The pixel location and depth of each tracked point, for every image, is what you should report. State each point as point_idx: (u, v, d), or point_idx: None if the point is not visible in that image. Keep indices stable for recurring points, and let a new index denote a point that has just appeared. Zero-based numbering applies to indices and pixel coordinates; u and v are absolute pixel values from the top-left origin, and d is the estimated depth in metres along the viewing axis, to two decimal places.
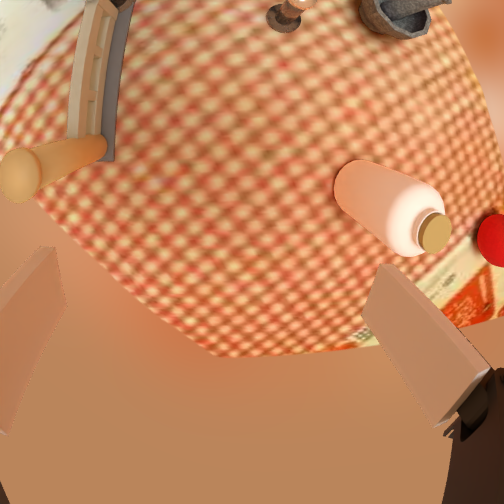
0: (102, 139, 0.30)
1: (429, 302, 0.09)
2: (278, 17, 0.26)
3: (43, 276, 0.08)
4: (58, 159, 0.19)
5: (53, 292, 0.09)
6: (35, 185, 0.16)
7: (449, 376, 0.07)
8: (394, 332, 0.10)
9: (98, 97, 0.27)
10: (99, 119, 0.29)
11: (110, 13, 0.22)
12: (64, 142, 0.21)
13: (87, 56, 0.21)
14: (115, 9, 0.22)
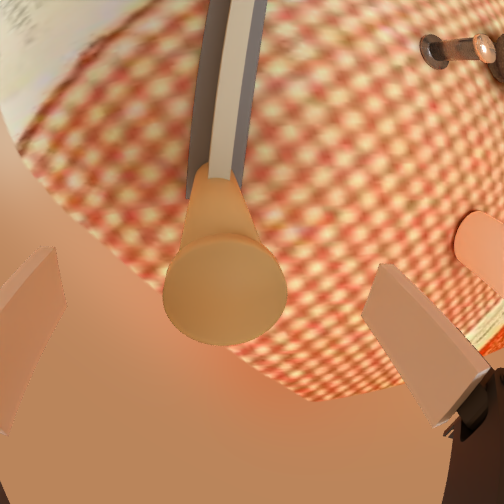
0: (233, 173, 0.24)
1: (429, 302, 0.09)
2: (437, 52, 0.20)
3: (43, 276, 0.08)
4: None
5: (53, 292, 0.09)
6: (276, 318, 0.10)
7: (449, 376, 0.07)
8: (394, 332, 0.10)
9: None
10: None
11: None
12: (234, 194, 0.16)
13: None
14: None
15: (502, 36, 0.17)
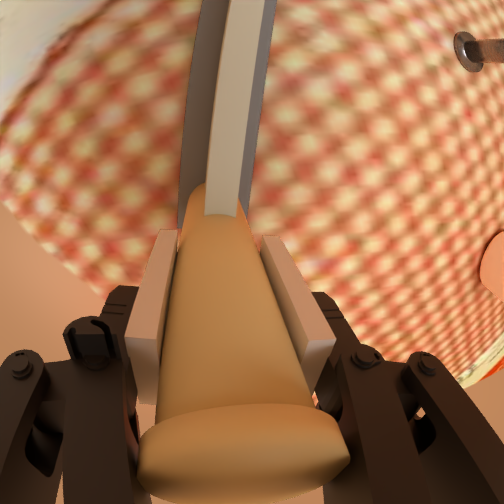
0: (238, 198, 0.19)
1: (294, 269, 0.10)
2: (474, 52, 0.15)
3: (174, 255, 0.11)
4: None
5: None
6: (323, 483, 0.05)
7: None
8: None
9: None
10: None
11: None
12: (245, 250, 0.10)
13: None
14: None
15: None
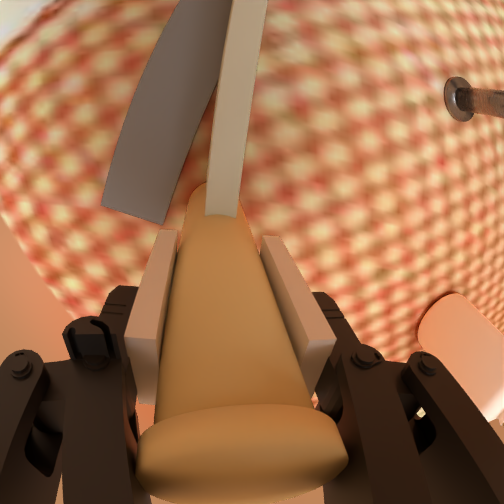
0: None
1: (294, 269, 0.10)
2: (464, 99, 0.17)
3: (174, 255, 0.11)
4: None
5: None
6: (321, 484, 0.05)
7: (292, 344, 0.08)
8: None
9: None
10: None
11: None
12: (245, 251, 0.10)
13: None
14: None
15: None
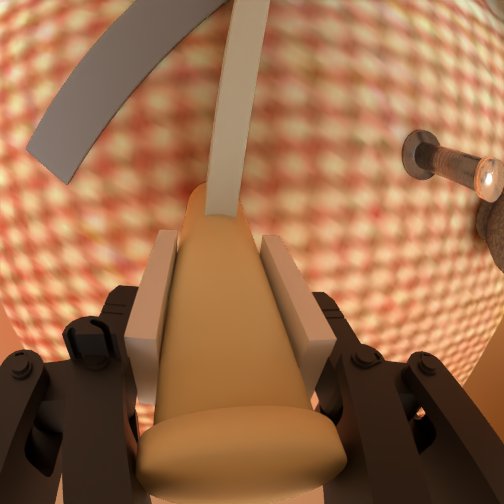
0: None
1: (294, 269, 0.10)
2: (423, 154, 0.19)
3: (174, 255, 0.11)
4: None
5: None
6: (319, 485, 0.05)
7: (292, 344, 0.08)
8: None
9: None
10: None
11: None
12: (245, 251, 0.10)
13: None
14: None
15: None
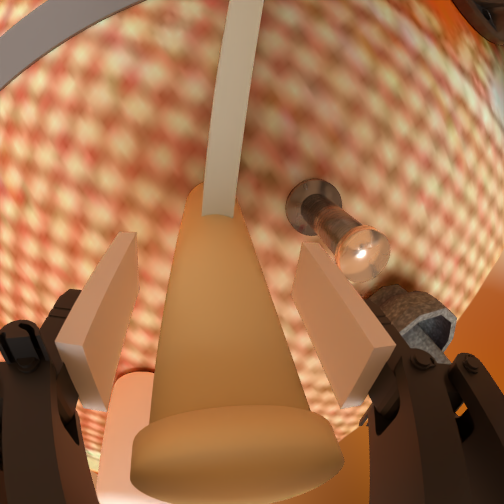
0: (236, 198, 0.19)
1: (342, 277, 0.10)
2: (309, 205, 0.20)
3: (129, 258, 0.10)
4: None
5: (133, 274, 0.11)
6: (317, 485, 0.05)
7: (350, 352, 0.08)
8: (311, 308, 0.11)
9: None
10: None
11: None
12: (242, 251, 0.10)
13: None
14: None
15: (422, 293, 0.23)
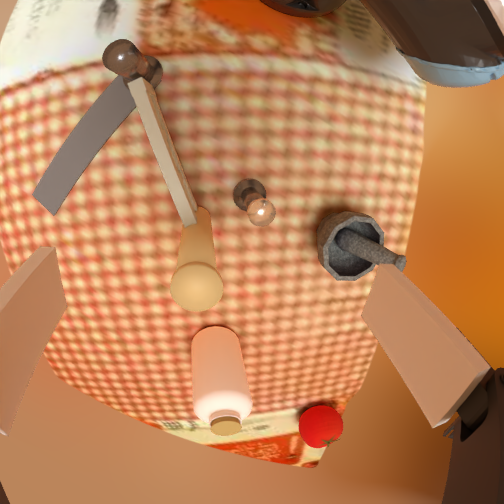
0: (204, 210, 0.37)
1: (429, 302, 0.09)
2: (242, 196, 0.37)
3: (43, 276, 0.08)
4: (212, 254, 0.26)
5: (53, 292, 0.09)
6: (222, 289, 0.23)
7: (449, 376, 0.07)
8: (394, 332, 0.10)
9: (183, 175, 0.34)
10: (192, 194, 0.36)
11: (152, 92, 0.28)
12: (197, 234, 0.29)
13: (166, 145, 0.28)
14: (151, 86, 0.29)
15: (341, 212, 0.38)
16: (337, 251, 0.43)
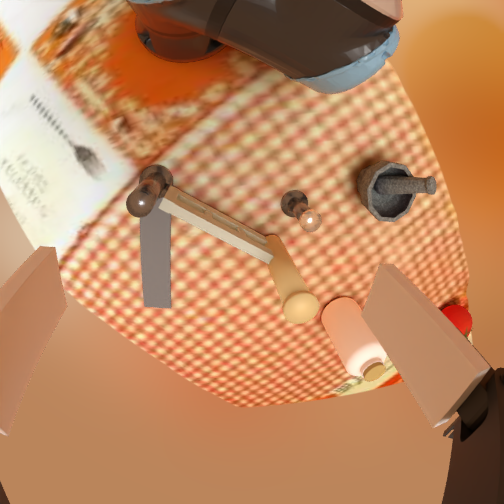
0: (272, 237, 0.47)
1: (429, 302, 0.09)
2: (290, 210, 0.45)
3: (43, 276, 0.08)
4: (297, 277, 0.36)
5: (53, 292, 0.09)
6: (316, 299, 0.32)
7: (449, 376, 0.07)
8: (394, 332, 0.10)
9: (241, 226, 0.45)
10: (256, 232, 0.46)
11: (176, 193, 0.40)
12: (280, 267, 0.38)
13: (217, 225, 0.39)
14: (171, 187, 0.41)
15: (366, 172, 0.42)
16: (382, 196, 0.46)
